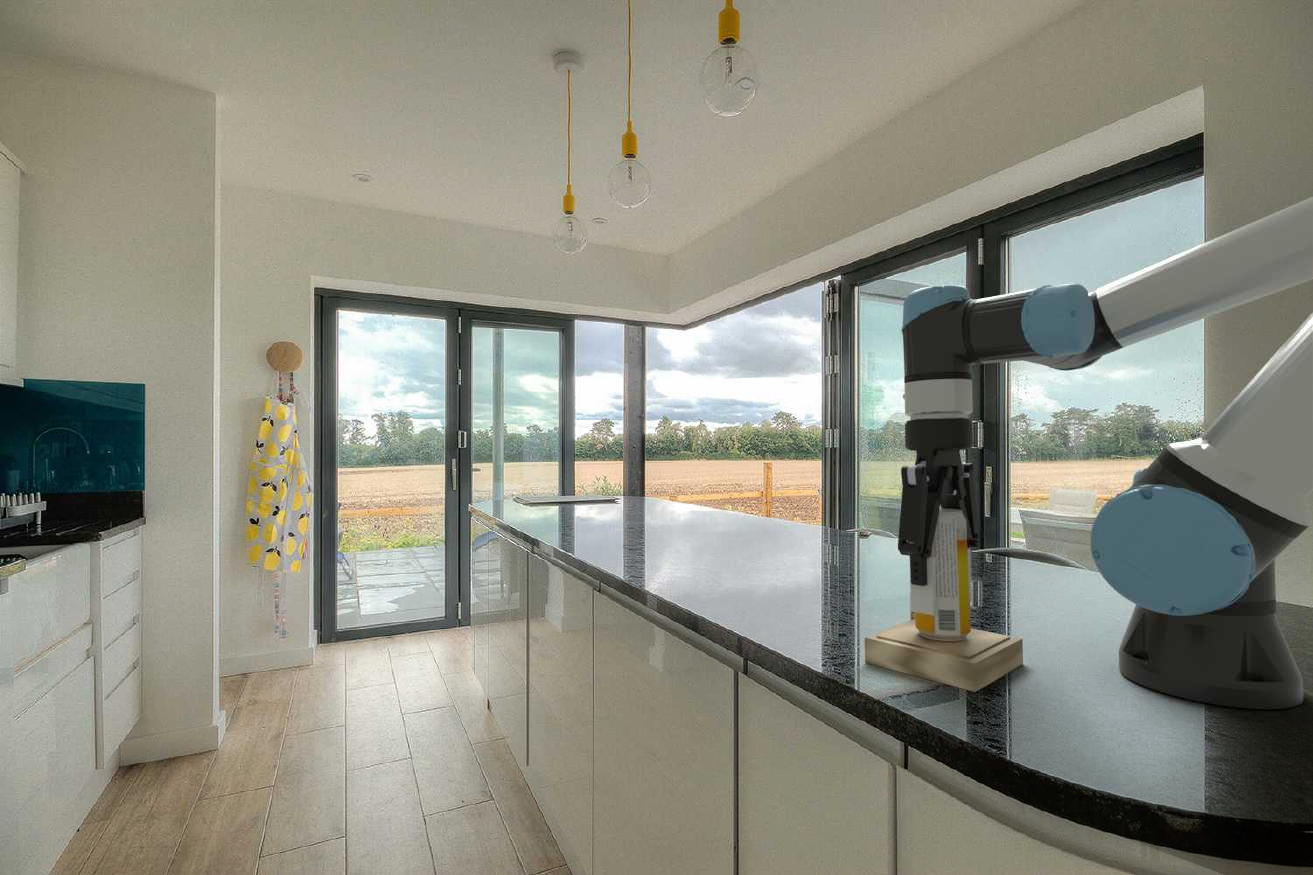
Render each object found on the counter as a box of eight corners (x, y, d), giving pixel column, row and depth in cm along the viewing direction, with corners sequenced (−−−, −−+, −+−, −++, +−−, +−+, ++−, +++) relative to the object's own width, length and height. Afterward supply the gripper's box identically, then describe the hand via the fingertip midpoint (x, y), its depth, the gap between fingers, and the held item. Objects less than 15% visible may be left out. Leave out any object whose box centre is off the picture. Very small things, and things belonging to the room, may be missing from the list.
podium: (1023, 663, 77) (1022, 636, 77) (975, 692, 68) (974, 661, 68) (918, 640, 87) (917, 616, 87) (865, 662, 78) (864, 635, 78)
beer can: (960, 628, 80) (955, 507, 81) (979, 642, 74) (974, 511, 75) (909, 628, 81) (904, 508, 81) (924, 642, 75) (919, 512, 75)
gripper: (947, 420, 88) (951, 587, 87) (861, 417, 74) (865, 616, 74) (1006, 418, 82) (1010, 597, 82) (925, 414, 68) (929, 629, 68)
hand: (942, 605), depth 78 cm, fingers open, 8 cm apart
